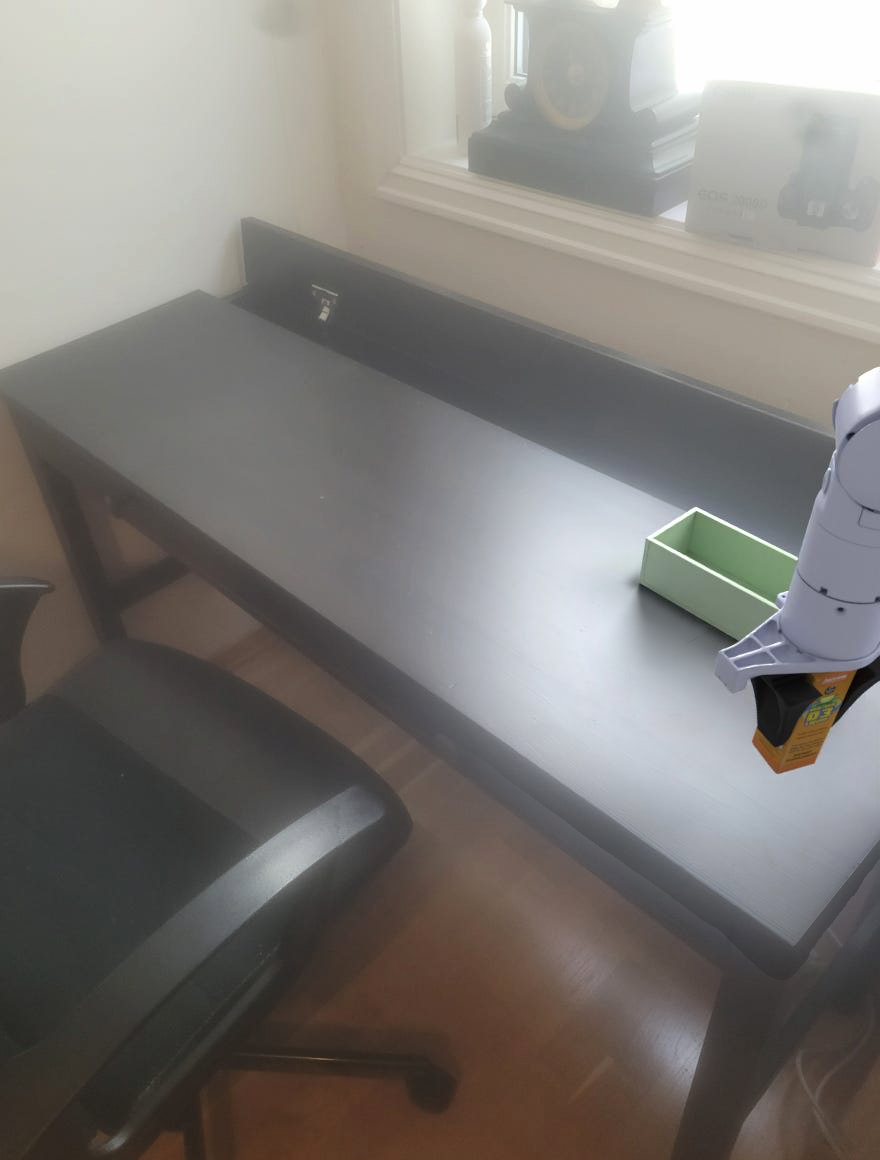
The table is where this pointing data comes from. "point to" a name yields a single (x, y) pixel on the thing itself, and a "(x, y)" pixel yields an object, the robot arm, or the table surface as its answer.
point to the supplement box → (808, 724)
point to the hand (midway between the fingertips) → (794, 727)
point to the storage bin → (717, 571)
